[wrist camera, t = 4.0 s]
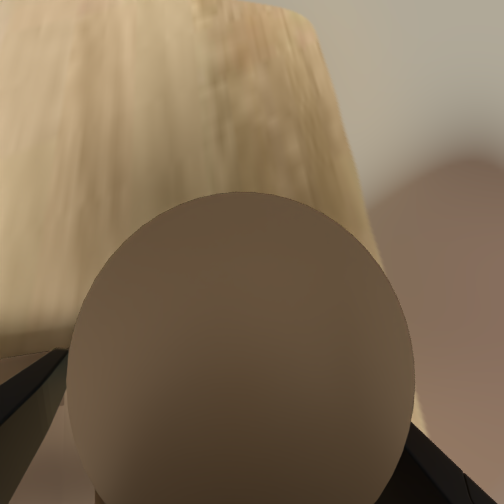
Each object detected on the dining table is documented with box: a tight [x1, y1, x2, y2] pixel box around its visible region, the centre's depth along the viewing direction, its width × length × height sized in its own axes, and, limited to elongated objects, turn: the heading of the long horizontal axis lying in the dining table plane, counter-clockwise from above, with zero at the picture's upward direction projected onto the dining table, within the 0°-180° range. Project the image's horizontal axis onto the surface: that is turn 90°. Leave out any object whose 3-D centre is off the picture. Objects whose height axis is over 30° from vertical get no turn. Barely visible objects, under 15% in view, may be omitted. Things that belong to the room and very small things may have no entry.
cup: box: [66, 192, 415, 504], centre depth 11 cm, size 5×5×14 cm
